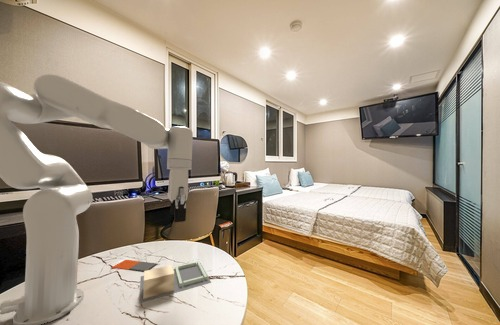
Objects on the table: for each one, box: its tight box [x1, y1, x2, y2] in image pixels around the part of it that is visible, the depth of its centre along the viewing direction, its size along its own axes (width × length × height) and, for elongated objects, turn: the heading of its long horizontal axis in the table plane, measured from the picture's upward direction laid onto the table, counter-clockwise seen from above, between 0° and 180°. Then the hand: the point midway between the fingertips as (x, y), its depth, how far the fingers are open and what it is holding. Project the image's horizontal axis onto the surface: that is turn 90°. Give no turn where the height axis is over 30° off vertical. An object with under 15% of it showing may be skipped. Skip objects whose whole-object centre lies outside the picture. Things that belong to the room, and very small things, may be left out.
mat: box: [138, 260, 212, 304], centre depth 62 cm, size 20×14×2 cm
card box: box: [143, 264, 174, 299], centre depth 57 cm, size 8×6×5 cm
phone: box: [111, 259, 158, 273], centre depth 70 cm, size 6×1×15 cm
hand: (177, 217), depth 61 cm, fingers open, 9 cm apart
